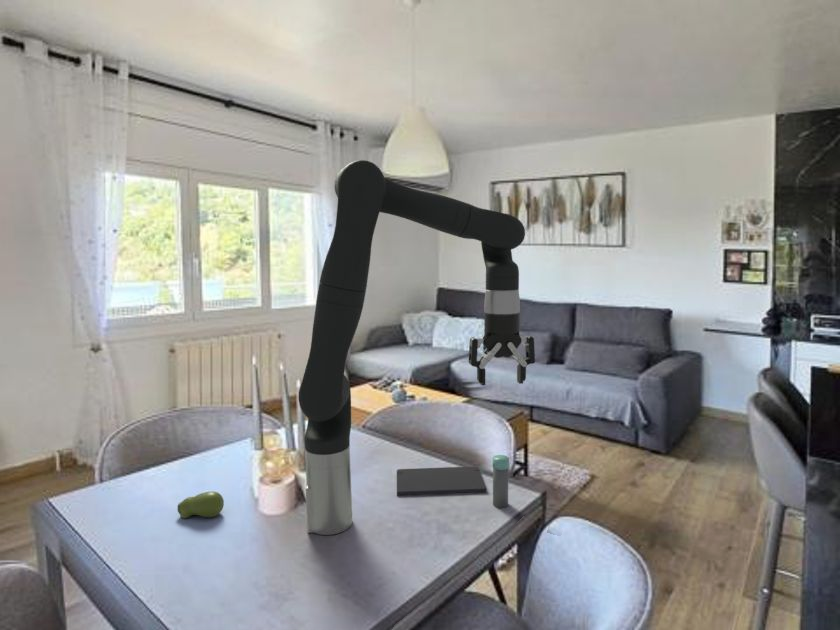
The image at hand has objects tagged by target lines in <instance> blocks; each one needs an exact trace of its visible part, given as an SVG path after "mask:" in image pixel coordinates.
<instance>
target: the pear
mask: <svg viewBox="0 0 840 630" xmlns="http://www.w3.org/2000/svg"><path fill="white" fill-rule="evenodd" d="M224 503H225V500H224V498H223V495H222V494H220V493H219V492H216V491H206V492H201V493H199V494H196V495H195V496H188V497H186V498H185V499H183V500H182V501H181V502H178V504H177V512H178V514H179V516H180V519H188V518H190V517H192V516H194V515H198V516H200V517H203V518H214V517H216V516H218V515H219V514H220V513H221V512H222V511H223V509H224V506H225V504H224Z"/></svg>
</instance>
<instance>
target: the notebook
mask: <svg viewBox="0 0 840 630" xmlns="http://www.w3.org/2000/svg"><path fill="white" fill-rule="evenodd" d="M486 493H487V486H486V484H485V481H484V478H483V476H482V473H481V470H480V468H479V466H475V465H473V466H449V467H448V466H447V467H426V468H425V467H422V468H421V467H420V468H399V469H398V468H397V470H396V496H397V497H406V496H409V497H410V496H432V495H433V496H434V495H436V496H437V495H438V496H439V495H458V494H459V495H461V494H462V495H464V494H466V495H467V494H486Z"/></svg>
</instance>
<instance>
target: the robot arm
mask: <svg viewBox="0 0 840 630" xmlns="http://www.w3.org/2000/svg"><path fill="white" fill-rule="evenodd" d="M334 192H335V195H336V197H337V208H336V216H335V217H336V219H335V227H334V232H333V236H332V239H331V241H330V245H329V248H328V251H327V254H326V257H325V259H324V263H323V265H322V270H321V274H320V277H319V283H318V288H317V289H318V290H317V295H316V300H315V309H314V310H315V311H314V316H313V323H312V330H311V331H312V333H311V343H310V349H309V355H308V358H307V362H306V366H305V369H304V372H303V377H302V379H301V382H300V387H299V390H298V404H299V407H300V410H301V411H302V413H303V414H304V416H306V418H308V419H307V425H306V430H305V433H304V457H305V477H306V479H305V481H306V482H305V483H306V485H305V505H306V525H307V526H306V527H307V528H306V529H307V533H308V534H309V533H314V534H317V535H322V536H330V535H337V534H340V533H342V532H344V531H346V530H348V529H349V528H351V526H352V525H353V506H352V505H353V502H352V501H353V500H352V476H351V475H352V473H351V453H350V452H351V450H350V449H351V448H350V447H351V446H350V442H351V441H350V438H351V437H350V435H351V432H352V431H351V429H352V395H351V394H352V393H351V385H350V383H349V379H348V378H347V376H346V375H345V369H346V368H345V367H346V362H347V358H348V354H349V350H350V347H351V344H352V342H353V339H354V337H355V334H356V332H357V329H358V326H359V323H360V319H361V316H362V312H363V308H364V302H365V299H366V298H365V297H366V293H367V287H368V278H369V271H370V266H371V265H370V264H371V255H372V243H373V239H374V233H375V229H376V226H377V221H378V218H379V216H380V215H379V214H380V213H381V214H386V215H392V216H395V217H399V218H402V219H406V220H409V221H412V222H414V223H417V224H420V225H422V226H425V227H428V228H431V229H433V230H436V231H438V232H442V233H445V234H448V235H451V236H455V237H458V238H462V239H466V240H475V241H479V242H480V243H481V244H480V245H481V249H482V250H481V251H482V257H483V260H484V266H485V293H484V294H485V295H484V304H483V311H484V316H483V317H484V319H483V320H484V322H483V323H484V326H483V327H484V328H483V329H484V333H483V338H479V337H477V338H476V337H473V336H471V337H469V343H468V344H469V346H468V348H469V349H468V364H469V365H470V366H472V367H475V368H476V380H477V382H478V383H479V385H481V386H486V366H487V365H488V364H489V362H491V360H492V359H493V358H496V359H498V358H503V357H504V358H511V357H513V358H514V360H515V361H516V362H517V363H518V365H516V381H517V383H518V384H522V385H523V384H524V382H525V381H526V379H527V366H529V365H532V364H535V362H536V356H535V355H536V354H535V352H536V351H535V338H534V337H533V336H531V335H529V334H528V335H527V334H526V335H525V336H521V335H520V326H521V325H520V322H521V321H520V320H521V319H520V318H521V316H520V314H521V313H520V312H521V309H520V308H521V303H520V302H521V299H520V288H519V287H520V283H519V282H520V269H519V265H518V264H517V263H516V262H515V261H514V260H513V254H512V252H513V251H512V250H514V249H516V248H518V247H519V246H520V245H522V243H523V241H524V239H525V236H526V230H525V226H524V224H523V223H522V221H521V220H520V219H518V218H517V217H516V216H514V215H511V214H507V213H504V212H500V211H495V210H491V209H487V208H481V207H478V206H475V205H473V204H470V203H468V202H464V201H461V200H458V199H456V198H452V197H448V196H446V195H443V194H437V193H433V192H428V191H423V190H419V189H415V188H412V187H408V186H405V185H402V184H400V183H397V182H394V181H392V180H391V179H389V178H386V177H385V175H384V173H383V172H382V170H381V169H380V167H379V166H378V165H377V164H375V163H374V162H372V161H370V160H365V159H364V160H363V159H361V160H360V159H359V160H354V161H352V162H350V163H348V164H347V165H345V166H343V168H341V170H340V171H339V172H338V173H337V175H336V177H335V180H334ZM521 343H522V345H523V346H524V347H525V348H524V349H525V357H523V356H522V354H521V353H520V352H519V350H518V348H519V346H520V345H521ZM482 345H483V346H484V348H485V350H484V351H483V352H482V354H481V356H480V357H479V359H478V350H479V349H480V348H481V346H482Z"/></svg>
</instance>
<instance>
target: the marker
mask: <svg viewBox="0 0 840 630" xmlns="http://www.w3.org/2000/svg"><path fill="white" fill-rule="evenodd" d="M509 468H510V457H509V456H507V455H504V454H496V455H493V456H492V505H493V506H494V507H495V508H498V509H505V508H508V506H509Z"/></svg>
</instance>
